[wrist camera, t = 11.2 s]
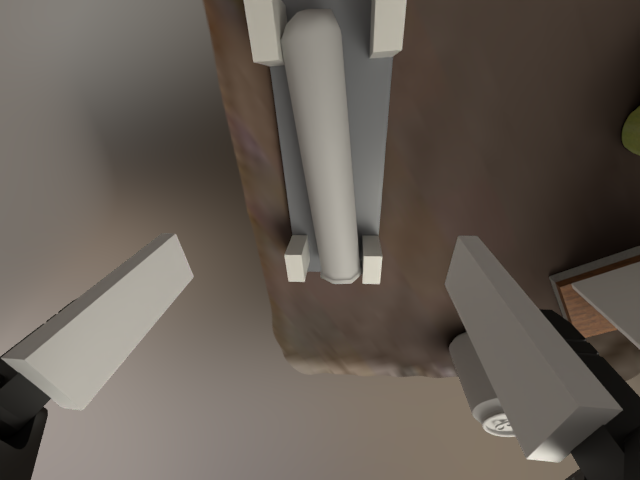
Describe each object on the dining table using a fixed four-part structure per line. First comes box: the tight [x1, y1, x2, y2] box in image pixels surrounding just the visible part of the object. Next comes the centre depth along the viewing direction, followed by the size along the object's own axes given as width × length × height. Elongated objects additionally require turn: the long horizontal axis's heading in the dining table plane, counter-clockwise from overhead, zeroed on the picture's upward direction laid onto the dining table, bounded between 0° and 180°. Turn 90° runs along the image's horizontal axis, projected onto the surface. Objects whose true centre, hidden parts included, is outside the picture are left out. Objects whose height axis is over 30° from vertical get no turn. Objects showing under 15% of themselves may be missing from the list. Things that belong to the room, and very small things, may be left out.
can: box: [449, 332, 516, 437], centre depth 35 cm, size 8×8×12 cm
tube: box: [281, 9, 362, 284], centre depth 25 cm, size 5×5×25 cm
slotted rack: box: [244, 0, 407, 284], centre depth 25 cm, size 11×30×6 cm, turn 3°
